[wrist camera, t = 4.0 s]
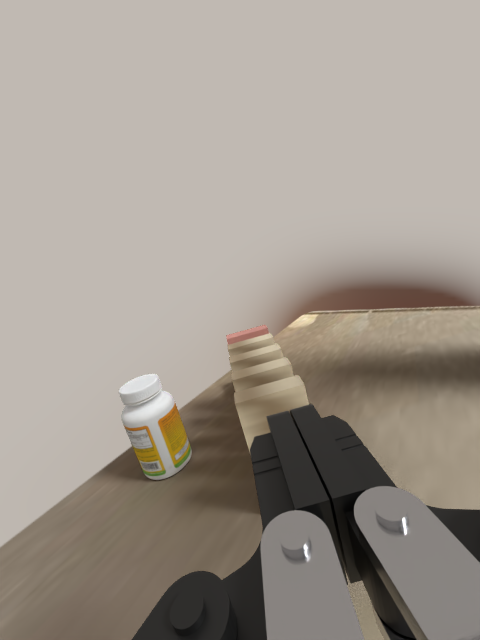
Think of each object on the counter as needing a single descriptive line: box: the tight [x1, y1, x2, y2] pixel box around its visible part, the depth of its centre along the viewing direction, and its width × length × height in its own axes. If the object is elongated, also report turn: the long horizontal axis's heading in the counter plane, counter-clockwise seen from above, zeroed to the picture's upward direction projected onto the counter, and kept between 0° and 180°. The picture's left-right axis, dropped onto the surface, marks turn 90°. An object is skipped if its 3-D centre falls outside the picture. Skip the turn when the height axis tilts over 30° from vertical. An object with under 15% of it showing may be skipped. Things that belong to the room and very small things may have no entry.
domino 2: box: [228, 333, 275, 357], centre depth 34 cm, size 5×2×10 cm, turn 95°
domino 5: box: [234, 375, 309, 456], centre depth 23 cm, size 5×2×10 cm, turn 95°
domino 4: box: [231, 357, 294, 392], centre depth 26 cm, size 5×2×10 cm, turn 95°
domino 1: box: [226, 325, 269, 345], centre depth 37 cm, size 5×2×10 cm, turn 95°
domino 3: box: [229, 344, 283, 372], centre depth 30 cm, size 5×2×10 cm, turn 95°
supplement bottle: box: [119, 374, 192, 480], centre depth 31 cm, size 5×5×10 cm
